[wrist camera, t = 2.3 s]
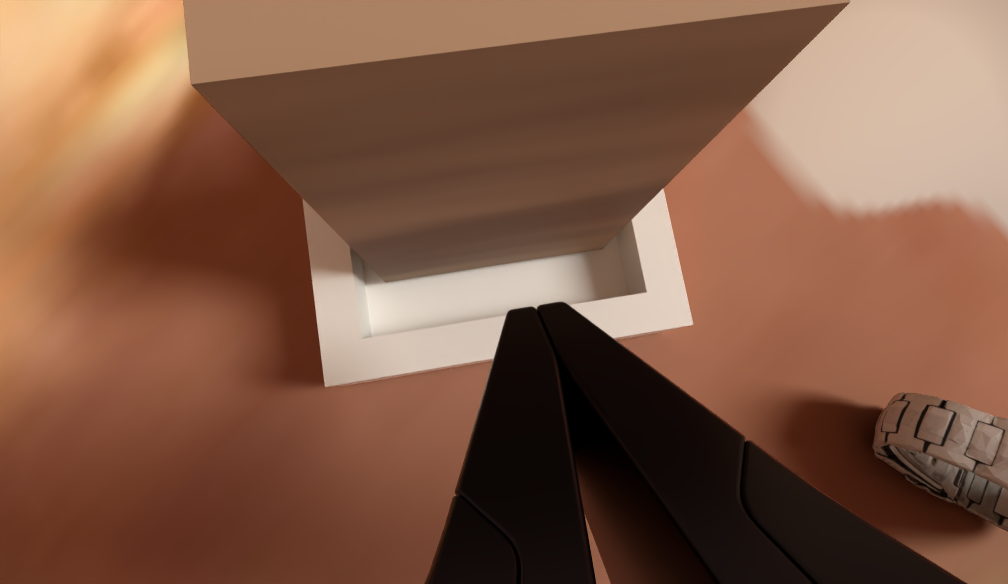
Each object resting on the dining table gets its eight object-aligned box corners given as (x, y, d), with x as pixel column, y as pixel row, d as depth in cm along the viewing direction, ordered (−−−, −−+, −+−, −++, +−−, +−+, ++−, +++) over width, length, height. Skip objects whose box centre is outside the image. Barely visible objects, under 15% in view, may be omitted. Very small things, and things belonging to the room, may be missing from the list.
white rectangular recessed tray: (659, 332, 16) (693, 324, 14) (348, 384, 15) (324, 387, 13) (556, -158, 18) (569, -240, 16) (284, -131, 18) (253, -213, 15)
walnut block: (602, 248, 15) (850, 2, 5) (385, 282, 14) (191, 84, 5) (575, 114, 15) (750, -344, 6) (365, 142, 15) (156, -301, 5)
